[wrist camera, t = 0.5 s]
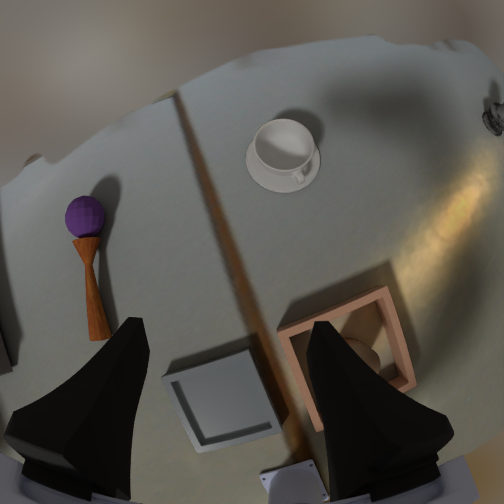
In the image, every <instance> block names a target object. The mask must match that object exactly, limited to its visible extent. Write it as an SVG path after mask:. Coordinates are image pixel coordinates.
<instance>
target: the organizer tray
mask: <svg viewBox="0 0 504 504" xmlns="http://www.w3.org/2000/svg"><path fill="white" fill-rule="evenodd" d="M12 371H13V370H12V367H11V364H10V361H9V358H8V355H7V352H6V349H5V346H4V343H3V339H2V336H1V332H0V376H1V375H4V374H7V373H10V372H12Z"/></svg>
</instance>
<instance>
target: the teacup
mask: <svg viewBox="0 0 504 504" xmlns="http://www.w3.org/2000/svg"><path fill="white" fill-rule="evenodd" d="M246 164H247V168H248V170H249V172H250V174H251V176H252V177H253V179H254V180H255V181H256V182H257V183H258V184H260V185H261V186H263V187H264V188H266V189H269V190H271V191H275V192H281V193H288V192H294V191H297V190H300V189H302V188H304V187H306V186H307V185H309V184H310V183H311V182H312V181H313V180H314V178H315V177H316V175H317V173H318V171H319V168H320V154H319V150H318V148H317V146H316V144H315V143H314V140H313V137H312V135H311V133H310V131H309V130H308V129H307V128H306V127H305V126H304V125H302V124H301V123H299V122H297V121H294V120H291V119H276V120H272V121H269V122H267V123H266V124H264V125H263V126H262V127H261V128H260V129H259V130H258V131H257V133H256V135H255V138H254V139H253V140H252V141H251V143H250V145H249V147H248V149H247V154H246Z"/></svg>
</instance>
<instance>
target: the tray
mask: <svg viewBox="0 0 504 504" xmlns="http://www.w3.org/2000/svg"><path fill="white" fill-rule="evenodd" d="M161 379H162V381H163V384H164V386H165V388H166V390H167V393H168V395H169V397H170V399H171V401H172V404H173V406H174V408H175V410H176V412H177V414H178V416H179V418H180V420H181V422H182V424H183V426H184V428H185V430H186V432H187V434H188V436H189V438H190V440H191V442H192V444H193V446H194V448H195V449H196V451H197V453H201V452H206V451H211V450H216V449H221V448H225V447H229V446H234V445H238V444H242V443H245V442H249V441H253V440H257V439H260V438H264V437H267V436H270V435H274V434H277V433H280V432H283V430H282V424H281V421H280V419H279V417H278V414H277V412H276V410H275V407H274V405H273V403H272V400H271V398H270V395H269V393H268V391H267V388H266V386H265V383H264V381H263V379H262V376H261V374H260V371H259V369H258V366H257V364H256V361H255V359H254V356H253V354H252V352H251V349H250V347H247V348H245V349H242V350H239V351H236V352H233V353H230V354H227V355H224V356H221V357H218V358H215V359H212V360H209V361H205V362H202V363H199V364H196V365H193V366H189V367H186V368H183V369H179V370H176V371H172V372H169V373H166V374H164V375H163V376H162V377H161Z"/></svg>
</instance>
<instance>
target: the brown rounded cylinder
mask: <svg viewBox="0 0 504 504" xmlns="http://www.w3.org/2000/svg"><path fill="white" fill-rule="evenodd" d="M344 340H345V341H346V342H347V343H348V344H349V345H350V347H351V348H352V349H353V350H354V351H355V352H356V353H357V354H358V355H359V356H360V357H361V359H362V360H363V361H364V362H365V363H367V364H368V365H369V366H370V367H371V368H372V369H373V370H374V371H375V372H376V373H377V374H379V371H380V359H379V356H378V355H377V353H376V352H375V351H374V350H372V349H371V348H369V347H367V346H366V345H364V344H363V343H361V342H359V341H358V340H356V339H353V338H344Z"/></svg>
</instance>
